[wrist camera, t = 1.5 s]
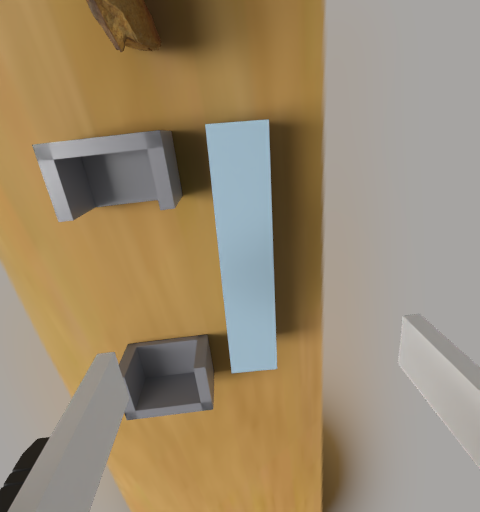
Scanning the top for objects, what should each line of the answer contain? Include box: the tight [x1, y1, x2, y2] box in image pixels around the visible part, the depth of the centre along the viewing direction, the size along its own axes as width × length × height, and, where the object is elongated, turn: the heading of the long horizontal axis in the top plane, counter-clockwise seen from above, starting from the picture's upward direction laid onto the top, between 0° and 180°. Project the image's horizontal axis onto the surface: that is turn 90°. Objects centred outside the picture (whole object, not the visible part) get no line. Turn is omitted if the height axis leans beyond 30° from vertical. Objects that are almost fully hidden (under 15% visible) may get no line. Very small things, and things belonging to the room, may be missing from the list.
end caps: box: [32, 130, 214, 420], centre depth 26 cm, size 24×8×5 cm, turn 6°
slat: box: [205, 119, 277, 373], centre depth 25 cm, size 20×4×5 cm, turn 4°
